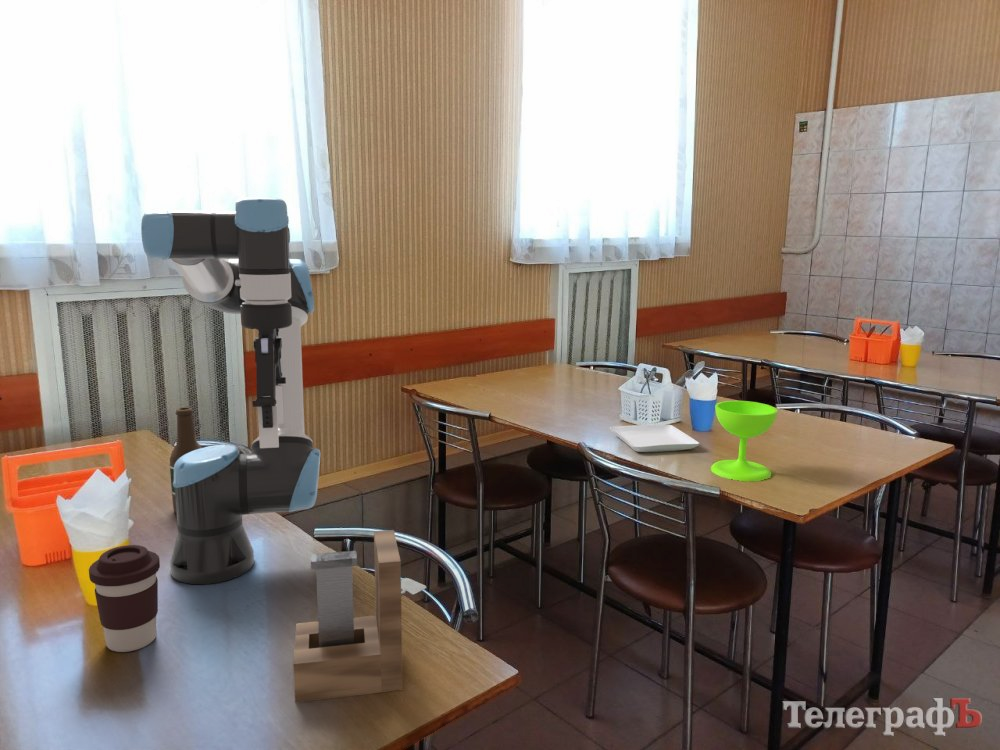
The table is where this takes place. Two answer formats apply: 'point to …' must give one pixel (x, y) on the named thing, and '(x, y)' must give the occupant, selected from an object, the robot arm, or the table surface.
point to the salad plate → (654, 438)
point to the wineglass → (743, 437)
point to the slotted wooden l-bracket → (357, 641)
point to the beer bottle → (183, 441)
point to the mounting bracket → (411, 586)
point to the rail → (335, 597)
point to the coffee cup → (127, 596)
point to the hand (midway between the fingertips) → (272, 435)
